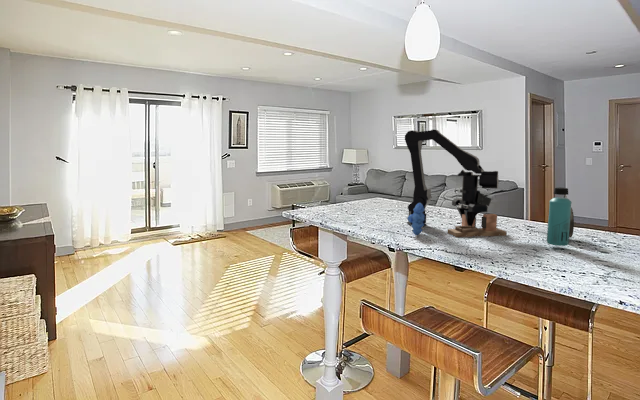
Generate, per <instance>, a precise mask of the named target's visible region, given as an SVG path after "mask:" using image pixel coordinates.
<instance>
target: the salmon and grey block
mask: <svg viewBox="0 0 640 400" xmlns="http://www.w3.org/2000/svg"><path fill="white" fill-rule="evenodd" d="M461 226H468V224H467V220H466V216H465V214H462V218H461ZM472 226H474V227H476V228H477V216H476V217H475V219H474V222H473V224H472Z"/></svg>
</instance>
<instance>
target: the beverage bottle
mask: <svg viewBox="0 0 640 400" xmlns="http://www.w3.org/2000/svg"><path fill="white" fill-rule="evenodd" d="M553 195H559V196H560V195H561V196H564V195H566V196H568V195H569V188H568V187H554V189H553ZM548 207H549V208H548V219H547V228H546V230H547V233H546V242H547V244H548V245H552V246H559V247H566V246H568V245H569V242H570V238H571V237H570V231H569V229H570V217H571V208H572V201H571V200H570V199H569V198H568V197H567V198H566V197H565V198H564V197H558V196H557V197H552V198H551V199H550V200H549V206H548Z"/></svg>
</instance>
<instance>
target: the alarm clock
mask: <svg viewBox="0 0 640 400" xmlns="http://www.w3.org/2000/svg"><path fill="white" fill-rule="evenodd" d="M563 198H568V195H563ZM574 225H575V217H574V210H573V207H571V217H570V229H569V231H570V237H569V238H572V237H573V236H574V230H575V229H574V228H575V226H574Z"/></svg>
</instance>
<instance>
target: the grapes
mask: <svg viewBox="0 0 640 400" xmlns="http://www.w3.org/2000/svg"><path fill="white" fill-rule="evenodd" d="M424 210H425V211H426V208H425V209H424V207H423V205H422V204H421V203H418V204H417V205H416V206H415V208H414V209H413V211H414V213H413V214H411V215H409V214H408V216H407V217H406V219H407V222H408V221H409V222H410V223H413V224H412V225H410V227H411V228H412V230H411V231H412V233H413V235H415V236H418V235H420V234H422V233H423V227H424V223H423V221H424V220H425V219H424V217H425V215H424V214H423V213H422V212H423V211H424Z"/></svg>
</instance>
